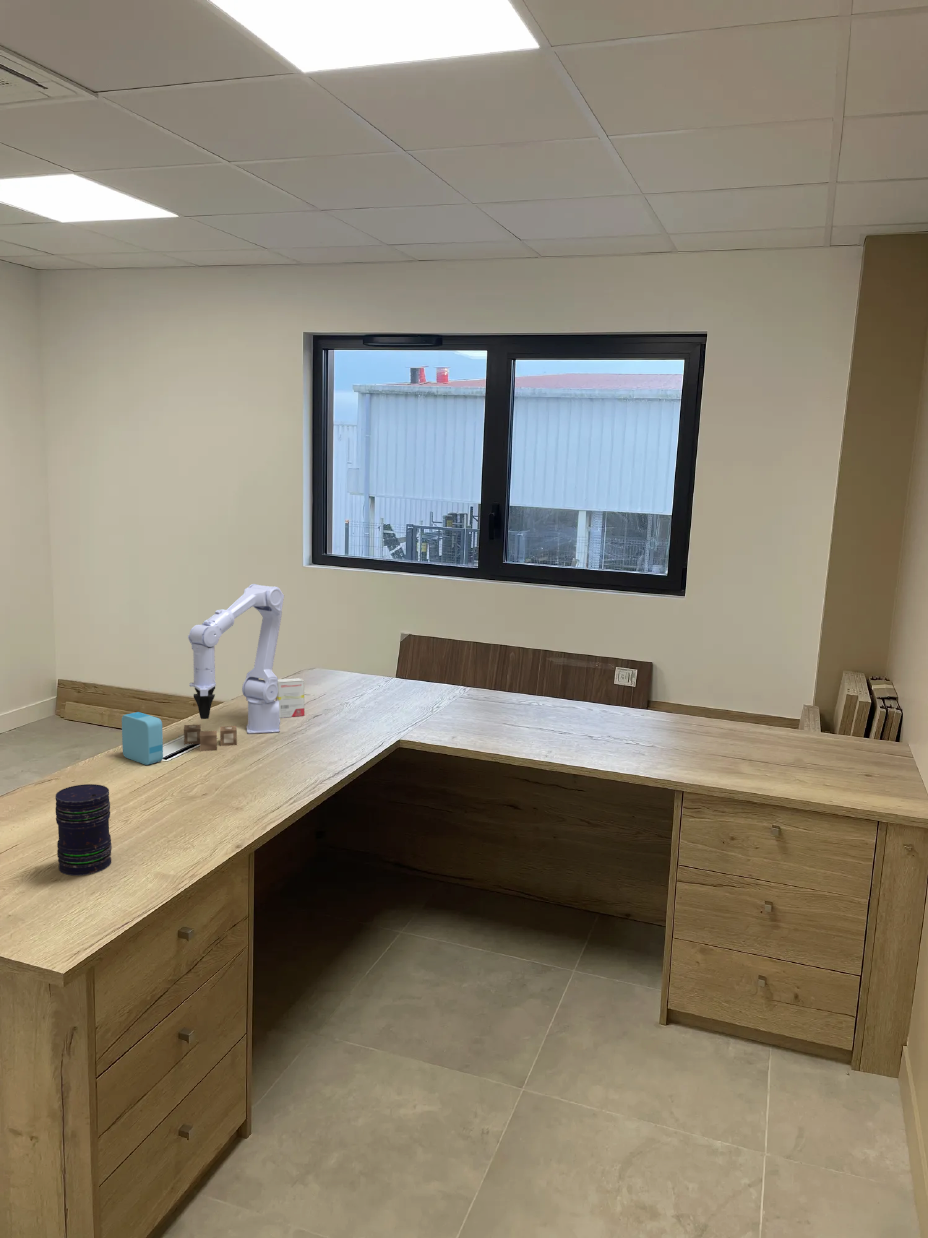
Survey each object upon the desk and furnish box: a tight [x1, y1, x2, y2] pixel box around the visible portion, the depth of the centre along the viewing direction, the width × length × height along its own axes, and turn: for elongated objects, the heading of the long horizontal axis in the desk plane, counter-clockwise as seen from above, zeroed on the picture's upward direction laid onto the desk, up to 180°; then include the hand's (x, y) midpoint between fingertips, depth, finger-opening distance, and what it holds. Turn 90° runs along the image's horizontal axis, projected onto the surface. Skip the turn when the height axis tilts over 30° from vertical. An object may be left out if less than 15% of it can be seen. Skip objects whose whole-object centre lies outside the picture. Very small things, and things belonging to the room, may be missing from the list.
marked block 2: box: [219, 725, 238, 747], centre depth 255 cm, size 4×5×5 cm
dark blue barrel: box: [54, 783, 113, 877], centre depth 174 cm, size 10×10×15 cm
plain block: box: [199, 730, 218, 752], centre depth 250 cm, size 4×4×4 cm
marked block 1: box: [183, 724, 202, 745], centre depth 255 cm, size 4×5×5 cm
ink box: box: [274, 677, 305, 719], centre depth 285 cm, size 9×5×12 cm, turn 114°
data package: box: [121, 711, 164, 766], centre depth 238 cm, size 12×4×12 cm, turn 54°
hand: (204, 715), depth 249 cm, fingers open, 7 cm apart
